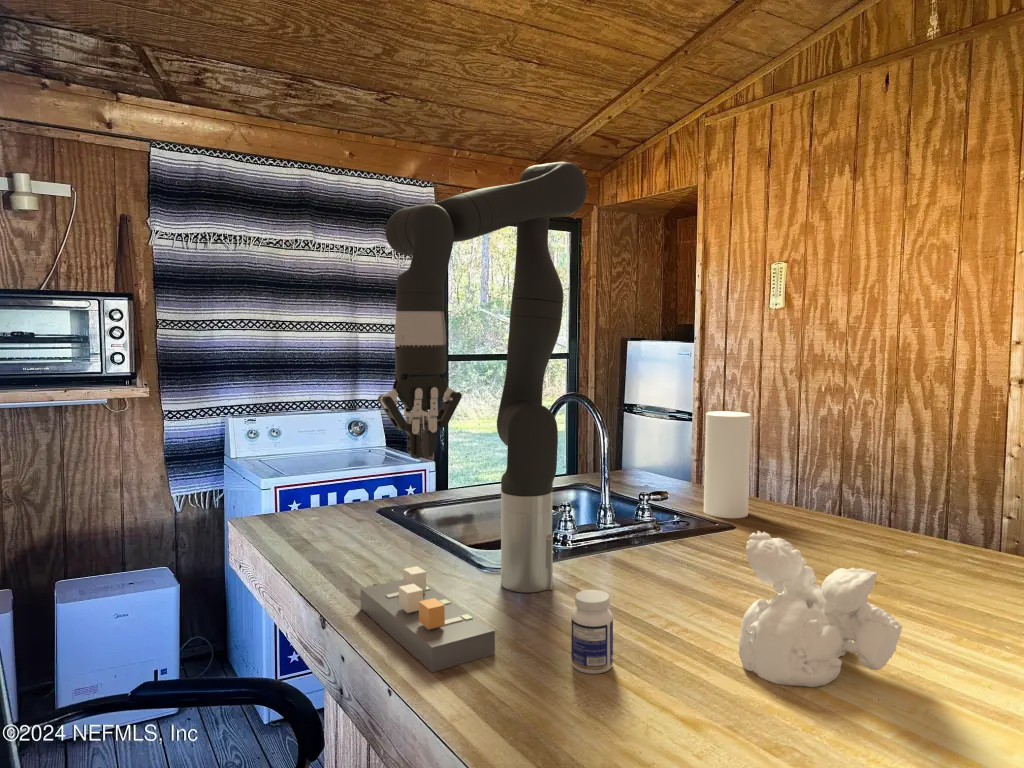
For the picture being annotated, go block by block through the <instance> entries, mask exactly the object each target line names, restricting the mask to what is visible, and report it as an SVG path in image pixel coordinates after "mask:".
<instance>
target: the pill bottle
mask: <svg viewBox="0 0 1024 768" xmlns="http://www.w3.org/2000/svg"><path fill="white" fill-rule="evenodd" d="M574 597H575V598H574V604H575V606H576V608H574V609H573V611H572V613H571V620H570V621H571V664H572V666H573V667H574V668H575V669H576V670H577V671H579V672H581V673H584V674H585V673H586V674H591V675H594V674H603V673H606V672H608V671H609V670H611V668H612V667H613V665H614V649H613V648H614V618H613V613H612V612H611V610H610V609H609V606H610V603H611V602H610V595H609V594H608V593H607V592H606V591H603V590H599V589H585V590H580V591H578V592H577V593H576V594H575V596H574Z"/></svg>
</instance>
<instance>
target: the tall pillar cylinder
mask: <svg viewBox="0 0 1024 768" xmlns="http://www.w3.org/2000/svg"><path fill="white" fill-rule="evenodd" d="M751 423H752V415H751V414H750V413H748V412H741V411H730V410H729V411H727V410H725V411H724V410H719V411H718V410H717V411H714V410H713V411H707V412H706V413H705V438H704V439H705V441H704V442H705V443H704V478H703V479H704V482H703V483H704V484H703V485H704V486H703V513H705V515H708V516H711V517H715V518H722V519H742V518H746V517H748V515H749V498H750V496H749V494H750V492H749V491H750V465H751V463H750V462H751V460H750V459H751V433H752V432H751V427H752V425H751Z"/></svg>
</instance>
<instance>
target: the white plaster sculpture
mask: <svg viewBox="0 0 1024 768" xmlns="http://www.w3.org/2000/svg"><path fill="white" fill-rule="evenodd" d="M745 552H746V556H747V561H748V564H749V566H750V567H751V568H752V570H753V573H754V574H755V575H756V577H757V578H758V579H759V580H760V582H762V583H765V584H769V585H771V586H772V588H773V590H774V591H775V592H776V593H777V595H775V596H773V597H771V598H770V599H769V600H768V599H765V598H760V599H758V600H757V599H756V601H754V602H753V603H751V605H750V607H749V608H747V610H746V611H745V613H744V615H743V618H742V621H741V624H740V635H739V640H738V655H739V658H740V660H741V664H742V667H743V669H744V670H746V671H748V672H753V673H754V674H757V676H758V677H759V678H761V679H763V680H765V681H768V682H770V683H773V684H776V685H782V686H798V687H806V688H807V687H808V688H817V687H821V686H822V687H824V686H826V685H828V684H829V683H831V682H832V681H834V680H836V679H837V678H838V676H839V675H840V673H841V669H842V668H841V666H842V664H843V662H842V660H841V659H840V657H843V656H845V655H846V653H847V652H849V654H850V653H851V654H856V656H857V658H858V662H859V663H860V664H861V665H862V666H864V667H865V668H867V669H869V670H873V671H879V670H881V669H882V668H884V667H885V666H886V665H887V663H888V662H889V660H890V659H892V657H893V655H894V653H895V652H896V651H897V644H898V641H899V640H900V637H901V636H900V635H901V633H902V631H903V625H902V624H901V623H900V622H899V621H898V620H896V619H895V616H892V614H890V613H889V612H886V609H882V608H881V607H879V606H877V605H875V604H872V603H870V602H869V600H868V599H869V598H868V596H869V595H870V594H871V593H872V590H873V589H874V585H875V583H876V581H877V574H878V572H877V571H875V572H874V571H872V570H868V569H865V568H855V567H851V568H848V569H847V568H843V567H840V568H838V569H835V570H834V571H833V572H832V573H830V574H829V575H827V576H826V577H825V579H824V580H823V582H822V584H821V585H820V584H817V583H816V581H817V577H816V576H815V572H814V571H815V570H814V569H813V568H812V566H808V565H807V564H806V563H807V560H806V558H803V557H802V553H801V551H800V550H799V549H795V547H793V544H792V543H791V542H788V541H787V540H786V539H783V538H781V537H771V534H769V533H767V532H766V531H763V532H761V531H760V530H757V531H756V532H752V533H751V534H750V535H749V540H747V541H746V547H745Z"/></svg>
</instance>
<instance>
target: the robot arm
mask: <svg viewBox="0 0 1024 768" xmlns="http://www.w3.org/2000/svg"><path fill="white" fill-rule="evenodd" d="M587 194H588V183H587V179H586V176H585V174H584V172H583V170H582V169H581V168H580V167H579V166H578V165H576V164H574V163H572V162H566V161H557V162H551V163H550V162H548V163H543V164H542V163H541V164H536V165H531V166H528V167H527V168H526V169H524V170H523V172H522V174H521V176H520V178H519V181H518V182H514V183H509V184H502V185H497V186H496V185H495V186H490V187H483V188H479V189H474V190H471V191H467V192H464V193H460V194H456V195H455V194H454V195H453V196H450V197H448V198H445V199H442V200H440V201H435V202H429V203H423V204H419V205H414V206H409V207H405V208H401V209H398V210H397V211H395V212H394V213H393V214H392V215H391V216H390V217H389V219H388V220H387V222H386V225H385V233H384V234H385V239H386V241H387V243H388V245H389V246H390V248H391V249H392V250H393V251H395V252H396V253H397V254H400V255H402V256H408V257H409V256H410V257H411V262H410V266H409V267H408V269H407V270H405V271H403V272H401V274H399V275H398V277H397V279H396V284H395V285H396V286H395V293H396V294H395V312H396V313H395V321H394V322H395V323H394V358H395V359H394V363H395V365H394V366H395V372H394V373H395V380H394V382H393V385H392V389H391V390H390V391H388V392H387V393H386V394H381V395H379V396H378V398H377V400H378V402H379V404H380V406H381V407H382V410H383V411H384V412H385V414H386V416H387V418H388V419H389V420H390V422H391V424H392V425H393V427H394V428H395V429H396V430H400V431H402V432H405V433H406V451H407V454H409V455H410V457H411V458H412V459H415V460H417V459H421V457H422V456H423V457H425V458H432V457H433V456H434V454H435V452H436V450H437V448H436V447H437V446H436V445H437V443H436V442H437V441H436V440H437V438H436V435H437V431H438V430H440V429H442V428H446V427H447V426H448V424H449V423H450V421H451V420H452V419H451V418H452V417H453V415H454V413H455V411H456V409H457V407H458V406H459V403H460V401H461V399H463V398H462V397H463V395H462V393H461V392H459V391H455V390H453V389H452V388H450V387H449V382H448V381H447V379H446V371H447V358H446V357H447V356H446V355H447V354H446V352H447V349H446V348H447V345H446V344H447V336H446V333H447V331H446V321H445V312H444V311H445V308H444V307H445V306H444V304H445V302H444V301H445V299H444V297H445V296H444V294H445V293H444V285H445V280H446V277H447V273H448V269H449V265H450V264H449V263H450V260H451V257H452V256H451V255H452V251H453V247H454V243H457V242H459V243H460V242H465V241H469V240H472V239H475V238H478V237H482V236H484V235H488V234H490V233H494V232H496V231H499V230H501V229H504V228H507V227H510V226H513V225H515V224H516V252H515V253H516V254H515V262H514V263H515V265H514V277H513V279H514V280H513V287H512V293H511V303H510V312H509V329H508V339H507V353H506V371H505V377H504V385H503V388H502V394H501V397H500V403H499V408H498V412H497V418H496V431H497V434H498V437H499V439H500V440H501V442H502V443H503V444H504V445H505V446H507V449H506V450H507V451H506V456H507V457H506V458H507V460H506V469H505V472H504V473H503V474H502V475H501V479H500V488H501V489H500V490H501V491H500V499H501V500H500V515H501V516H500V520H501V521H500V581H501V582H500V584H501V587H503V588H505V589H506V590H508V591H511V592H517V593H538V592H542V591H546V590H553V586H554V585H553V584H554V583H553V576H554V575H553V571H554V570H553V569H554V568H553V564H554V562H553V559H554V556H553V555H554V553H553V551H554V545H553V543H554V542H553V541H554V537H553V486H554V480H555V477H556V475H557V469H558V468H557V465H558V448H559V447H558V446H559V445H558V443H559V441H558V440H559V435H558V434H559V433H558V424H557V420H556V418H555V417H556V416H555V415H554V414H553V412H552V411H551V410H550V409H549V408H547V407H546V406H545V405H543V390H544V380H545V379H544V378H545V374H546V371H547V367H548V365H549V361H550V360H551V356H552V354H553V351H554V350H555V347H556V344H557V341H558V338H559V335H560V333H561V331H560V330H561V328H562V327H561V326H562V317H563V310H564V309H563V308H564V298H565V297H564V287H563V285H562V282H561V279H560V277H559V276H560V275H559V274H558V272H557V269H556V267H555V265H554V262H553V260H552V257H551V255H550V249H549V226H550V225H549V224H550V218H559V217H561V218H562V217H567V216H571V215H573V214H575V213H576V212H578V211H580V209H581V208H582V207H583V205H584V204H585V202H586V199H587V196H588V195H587ZM398 399H399V400H398ZM441 400H442V401H443V402H442V404H441V406H440V407H439V406H438V405H439V403H440V401H441ZM398 401H400V402H401V404H402V405H403V415H402V413H401V411H400V409H399V407H398V403H399V402H398ZM421 418H422V429H423V430H424V431H422V432H421V433H422V434H421V433H420V424H421V421H420V420H421ZM421 439H422V440H421ZM421 441H422V442H421ZM421 444H422V445H421ZM421 452H422V453H421ZM421 455H422V456H421Z"/></svg>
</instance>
